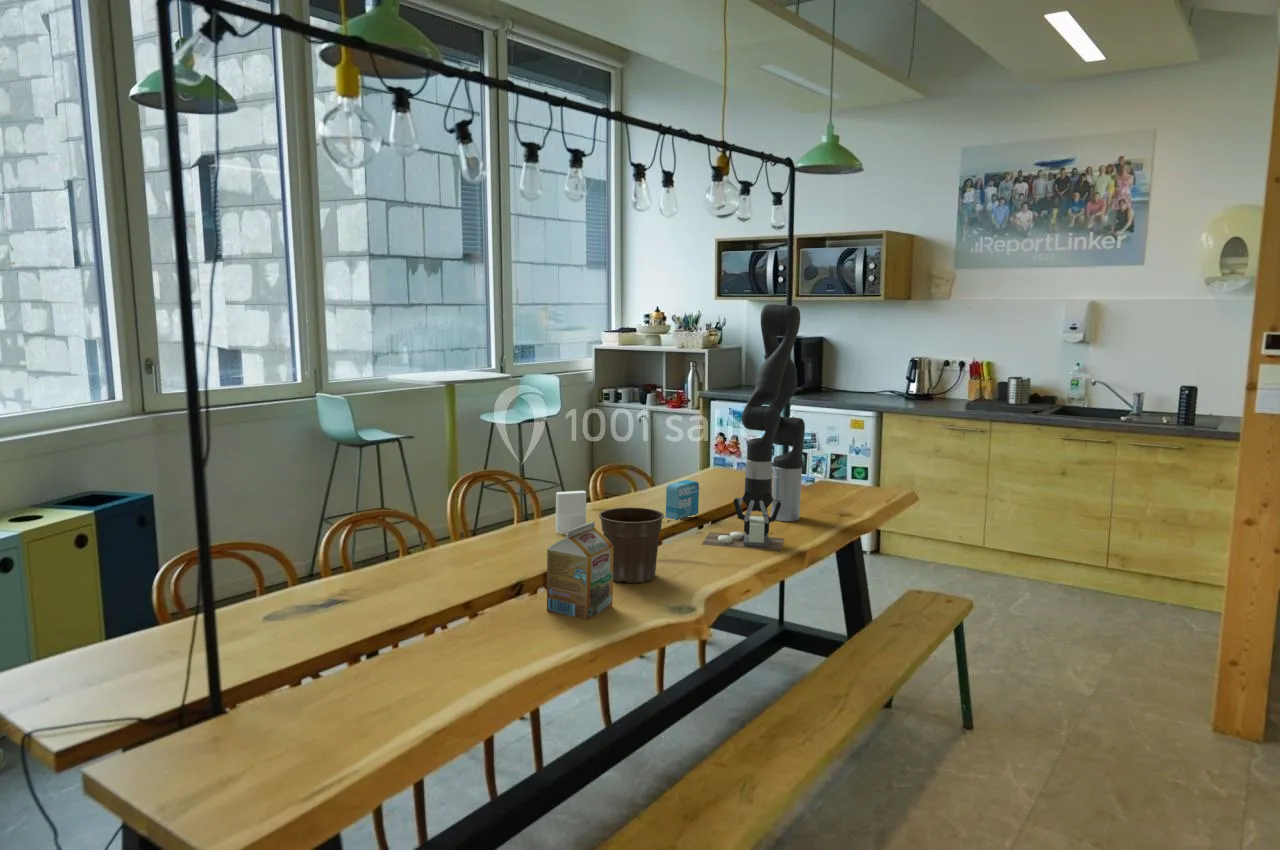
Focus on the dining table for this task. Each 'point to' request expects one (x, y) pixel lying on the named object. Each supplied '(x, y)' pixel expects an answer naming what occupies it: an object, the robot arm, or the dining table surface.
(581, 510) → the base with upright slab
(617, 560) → the plant pot
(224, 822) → the dining table surface
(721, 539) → the wax drip
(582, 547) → the milk carton
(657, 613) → the dining table surface
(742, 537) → the wax drip
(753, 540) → the sanding block
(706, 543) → the walnut board
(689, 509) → the data package
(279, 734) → the dining table surface
